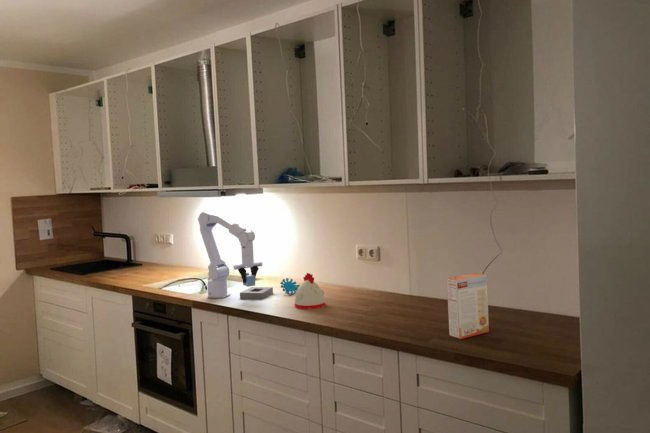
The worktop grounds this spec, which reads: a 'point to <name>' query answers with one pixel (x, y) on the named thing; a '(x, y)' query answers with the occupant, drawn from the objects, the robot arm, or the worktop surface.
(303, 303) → the white and red dome
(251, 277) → the servo
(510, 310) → the worktop surface
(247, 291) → the chassis
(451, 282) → the cracker box
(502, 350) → the worktop surface
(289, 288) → the gear
